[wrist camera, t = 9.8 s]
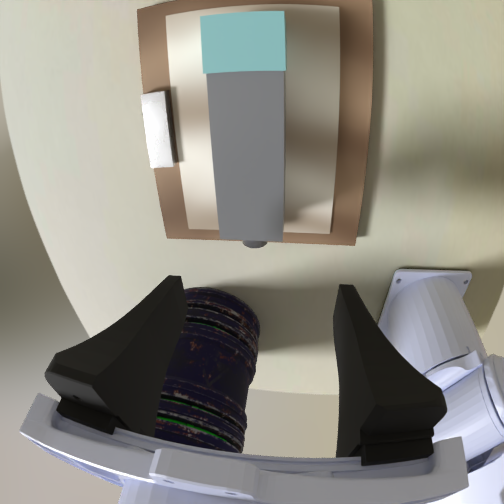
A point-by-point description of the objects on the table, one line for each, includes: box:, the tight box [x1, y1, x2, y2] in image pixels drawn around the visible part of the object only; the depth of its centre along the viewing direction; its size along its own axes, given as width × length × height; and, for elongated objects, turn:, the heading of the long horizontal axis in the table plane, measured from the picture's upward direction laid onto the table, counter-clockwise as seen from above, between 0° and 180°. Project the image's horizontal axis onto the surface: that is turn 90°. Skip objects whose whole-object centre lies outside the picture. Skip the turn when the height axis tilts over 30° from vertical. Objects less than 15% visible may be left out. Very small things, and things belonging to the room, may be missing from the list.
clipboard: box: [137, 0, 373, 246], centre depth 17 cm, size 17×14×2 cm
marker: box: [200, 11, 287, 248], centre depth 16 cm, size 14×4×4 cm, turn 2°
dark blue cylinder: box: [154, 287, 260, 453], centre depth 24 cm, size 10×10×15 cm
